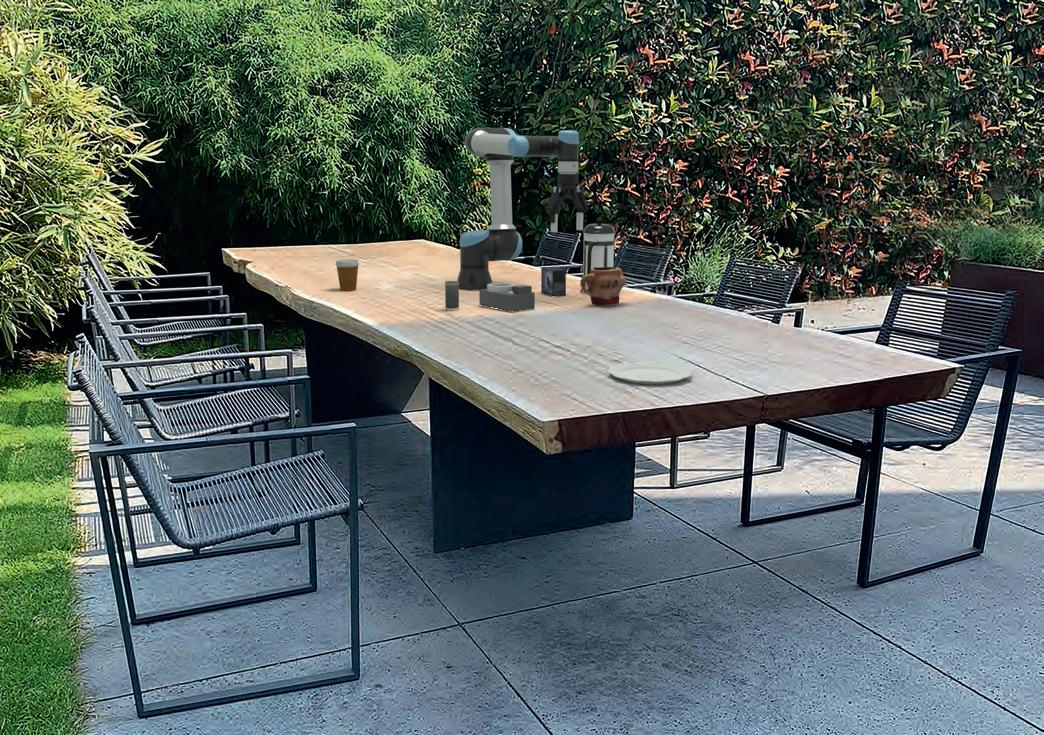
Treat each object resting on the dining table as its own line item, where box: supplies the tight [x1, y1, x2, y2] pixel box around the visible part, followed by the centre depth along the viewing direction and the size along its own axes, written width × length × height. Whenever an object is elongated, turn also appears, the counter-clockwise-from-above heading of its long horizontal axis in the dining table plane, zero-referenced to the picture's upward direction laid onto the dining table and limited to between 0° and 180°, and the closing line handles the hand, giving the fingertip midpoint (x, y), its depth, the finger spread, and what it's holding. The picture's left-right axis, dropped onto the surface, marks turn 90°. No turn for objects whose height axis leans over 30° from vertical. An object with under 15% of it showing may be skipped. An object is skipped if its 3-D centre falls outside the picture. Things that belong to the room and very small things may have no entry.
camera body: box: [478, 282, 536, 313], centre depth 341 cm, size 18×11×8 cm, turn 41°
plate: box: [607, 361, 692, 385], centre depth 239 cm, size 21×21×2 cm
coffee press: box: [580, 216, 616, 294], centre depth 376 cm, size 17×16×30 cm
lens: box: [444, 280, 460, 312], centre depth 336 cm, size 5×5×10 cm
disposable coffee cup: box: [335, 259, 360, 292], centre depth 381 cm, size 10×10×12 cm
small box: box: [540, 266, 567, 297], centre depth 373 cm, size 11×6×10 cm, turn 25°
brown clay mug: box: [579, 266, 627, 307], centre depth 347 cm, size 20×12×14 cm, turn 128°
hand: (566, 231), depth 354 cm, fingers open, 13 cm apart
